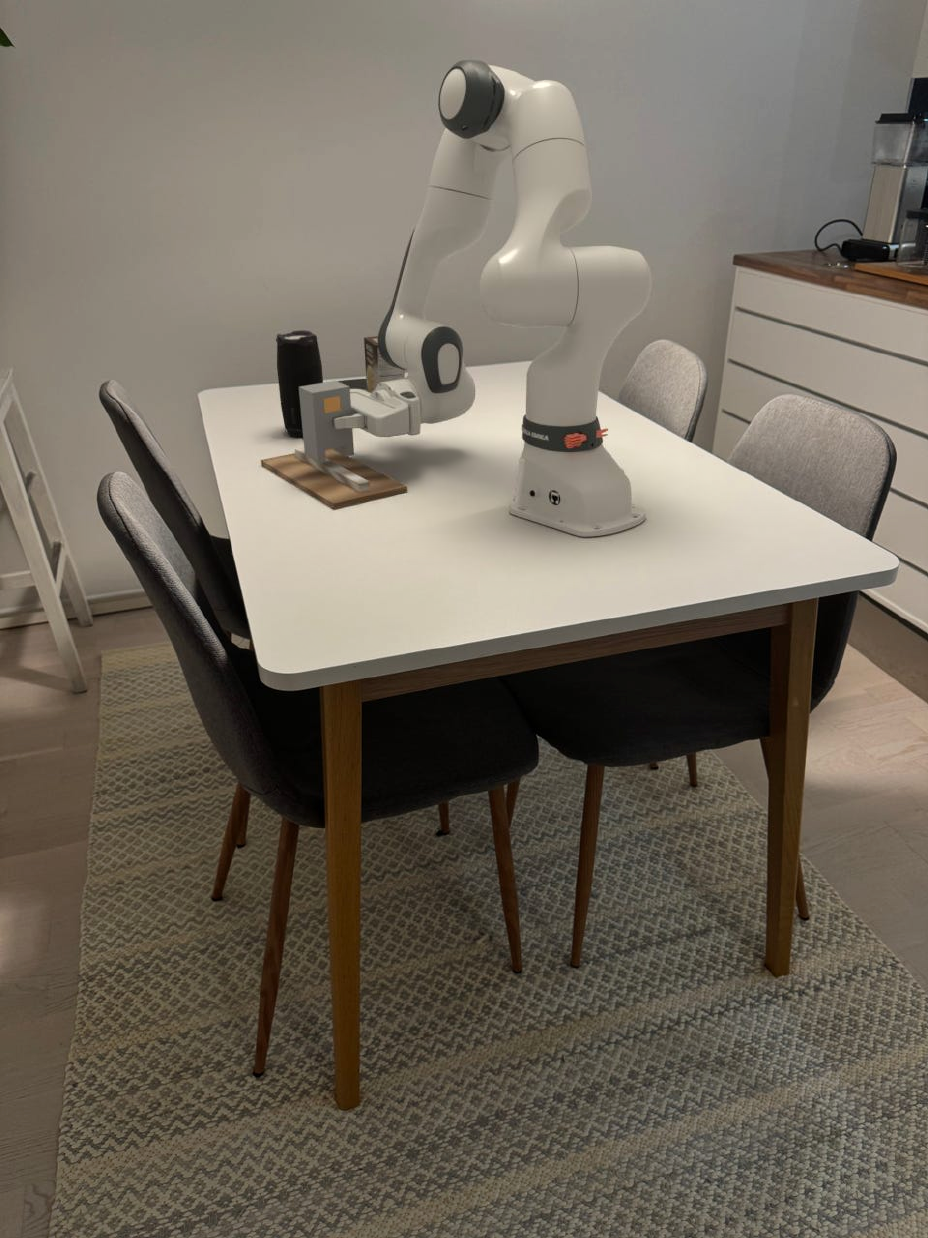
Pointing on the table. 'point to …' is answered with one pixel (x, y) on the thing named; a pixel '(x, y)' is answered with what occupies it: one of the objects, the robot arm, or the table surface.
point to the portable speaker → (296, 374)
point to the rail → (334, 478)
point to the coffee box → (378, 366)
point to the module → (325, 419)
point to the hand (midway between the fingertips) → (324, 419)
